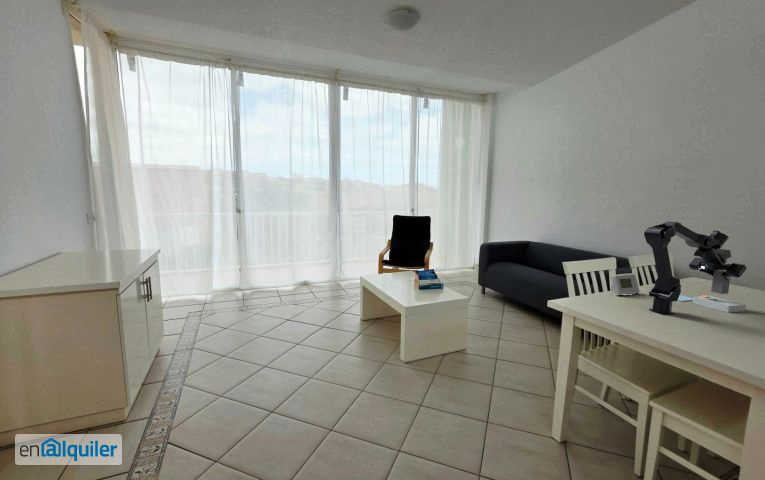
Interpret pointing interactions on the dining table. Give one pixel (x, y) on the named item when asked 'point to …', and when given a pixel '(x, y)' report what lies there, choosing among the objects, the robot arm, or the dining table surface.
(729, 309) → the white flat block
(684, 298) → the pad
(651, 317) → the dining table surface
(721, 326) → the dining table surface
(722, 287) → the plug
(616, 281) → the digital clock
